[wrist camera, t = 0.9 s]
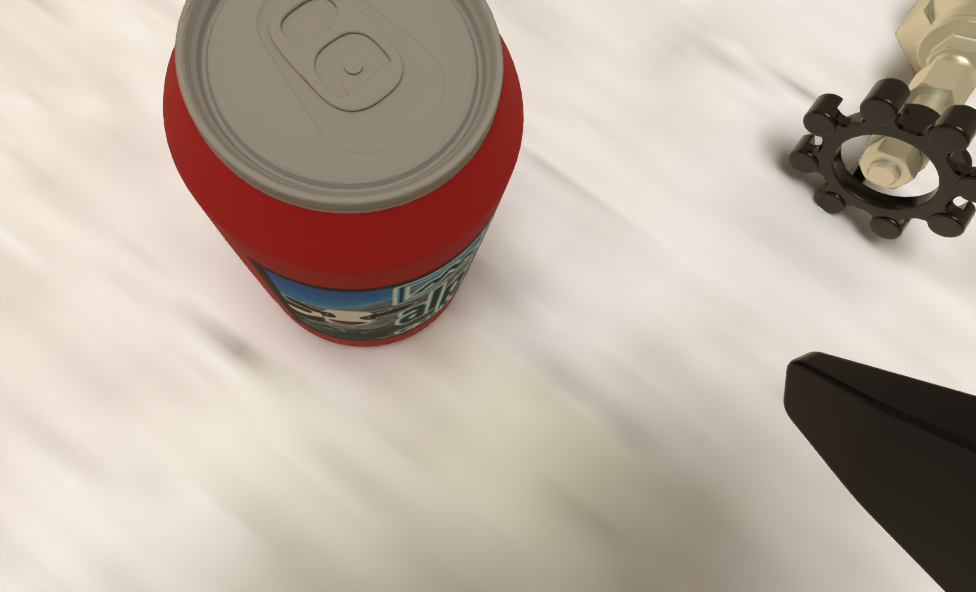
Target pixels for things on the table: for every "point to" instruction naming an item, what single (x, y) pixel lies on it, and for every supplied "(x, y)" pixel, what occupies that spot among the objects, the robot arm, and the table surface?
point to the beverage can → (346, 149)
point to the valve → (905, 129)
